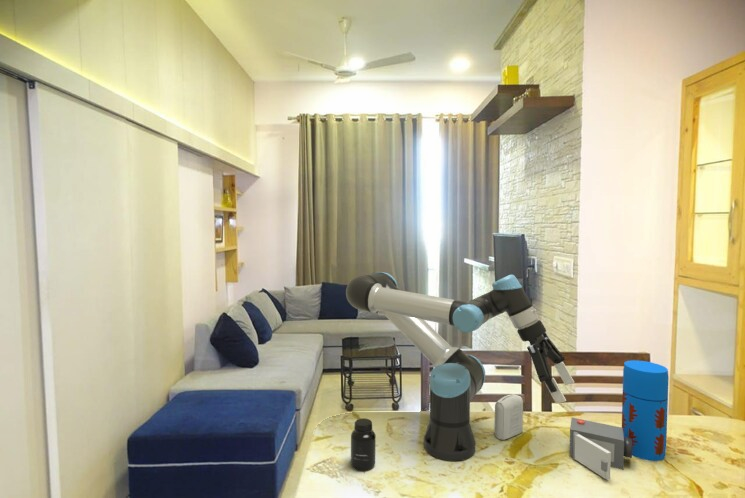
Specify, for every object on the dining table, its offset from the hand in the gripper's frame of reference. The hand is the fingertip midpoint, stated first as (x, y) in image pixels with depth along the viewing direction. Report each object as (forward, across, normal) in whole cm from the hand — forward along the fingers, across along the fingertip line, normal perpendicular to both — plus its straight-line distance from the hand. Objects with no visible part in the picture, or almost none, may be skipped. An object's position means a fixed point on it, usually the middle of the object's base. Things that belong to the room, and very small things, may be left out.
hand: (565, 392), depth 115 cm
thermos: (+25, +13, -7) cm, 29 cm away
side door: (+18, -6, +2) cm, 19 cm away
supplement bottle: (-8, -38, +47) cm, 61 cm away
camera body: (+19, +3, +2) cm, 20 cm away
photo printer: (+8, +1, +23) cm, 24 cm away
